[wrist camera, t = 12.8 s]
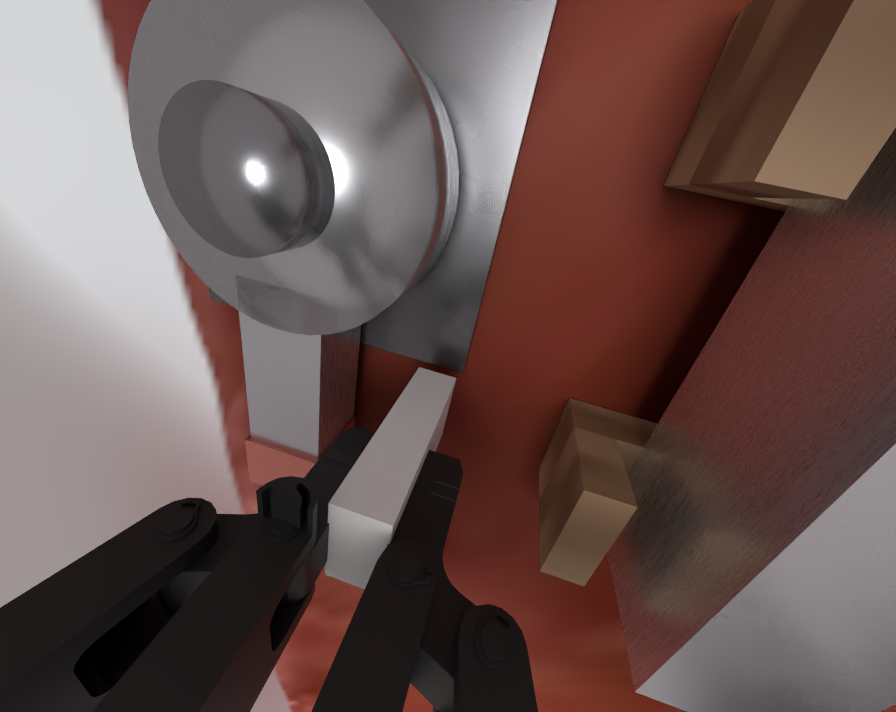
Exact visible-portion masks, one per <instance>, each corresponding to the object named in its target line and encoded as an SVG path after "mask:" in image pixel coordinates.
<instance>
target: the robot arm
mask: <svg viewBox="0 0 896 712" xmlns="http://www.w3.org/2000/svg"><path fill="white" fill-rule="evenodd" d="M455 382H456V378H454V377H451V376H448V375H444V374H441V373H438V372H434V371H431V370H428V369H424V368H421V367H419V368H418V370H417V371H416V373H415V374H414V376H413V377H412V379H411V380H410V382H409V383H408V385H407V386H406V388H405V389H404V391H403V392H402V394H401V395H400V397H399V398H398V400H397V401H396V403H395V404H394V406H393V407H392V409H391V410H390V412H389V413H388V415H387V416H386V418H385V419H384V421H383V422H382V424H381V425H380V427H379V428H378V430H377V431H376V433H373V432H370V431H367V430H364V429H361V428H358V427H354V426H353V427H351V428H349V429H348V430H346V431H344V432H342V433H341V434H339V435H338V437H337V438H336V439H335V440H334V441H333V443H332V444H331V445H330V447H329V449H327V450H326V451H325V453H324V454H323V455H322V457H321V459H319V460H318V461H317V462H316V464H315V465H314V466H313V467H312V469H311V470H310V471H309V472H308V473H307V475H306V476H305V477H304V478H300V477H294V476H288V477H280V478H277V479H275V480H272V481H270V482H267V483H266V484H264V485H263V486H262V487H261V488H259V489H258V490H257V491H256V493H257V504H258V513H257V514H247V515H242V514H217V513H216V509H215V508H214V506H213V505H212V503H211V502H209V501H206V500H204V499H202V498H186V499H182V500H178V501H174V502H172V503H170V504H168V505H165V506H163V507H161V508H159V509H158V510H156V511H155V512H153V513H151V514H150V515H148V516H147V517H145V518H143V519H142V520H140V521H139V522H137V523H135V524H134V525H132V526H131V527H129V528H127V529H126V530H124V531H123V532H121V533H119V534H118V535H116V536H115V537H113V538H111V539H110V540H108V541H106V542H105V543H103V544H102V545H100V546H98V547H97V548H95V549H94V550H92V551H90V552H89V553H87V554H86V555H84V556H83V557H81V558H79V559H78V560H76V561H75V562H73V563H71V564H70V565H68V566H67V567H65V568H63V569H62V570H60V571H58V572H57V573H55V574H54V575H52V576H51V577H49V578H47V579H46V580H44V581H42V582H41V583H39V584H38V585H36V586H34V587H33V588H31V589H30V590H28V591H26V592H25V593H23V594H22V595H20V596H19V597H17V598H15V599H14V600H12V601H10V602H9V603H8V604H6V605H4V606H2V607H1V608H0V712H250V710H251V709H252V707H253V705H254V703H255V701H256V699H257V698H258V696H259V694H260V692H261V690H262V688H263V687H264V685H265V683H266V681H267V679H268V678H269V676H270V674H271V672H272V670H273V669H274V667H275V665H276V663H277V661H278V659H279V658H280V656H281V654H282V652H283V650H284V648H285V647H286V645H287V643H288V641H289V639H290V638H291V636H292V634H293V632H294V630H295V628H296V627H297V625H298V623H299V621H300V619H301V617H302V616H303V614H304V612H305V610H306V608H307V607H308V605H309V603H310V601H311V599H312V596H313V593H314V590H315V581H316V579H317V578H318V576H319V574H320V572H321V571H322V569H323V567H324V565H325V575H328V576H330V577H333V578H336V579H338V580H341V581H343V582H346V583H349V584H351V585H354V586H356V587H359V588H362V589H364V592H363V594H362V597H361V599H360V601H359V604H358V606H357V608H356V610H355V613H354V615H353V617H352V620H351V622H350V624H349V627H348V629H347V631H346V633H345V636H344V638H343V640H342V643H341V645H340V647H339V650H338V652H337V654H336V657H335V659H334V661H333V663H332V666H331V668H330V670H329V673H328V675H327V677H326V680H325V682H324V684H323V686H322V689H321V691H320V693H319V696H318V698H317V700H316V703H315V705H314V707H313V709H312V712H402V711H403V707H404V703H405V699H406V695H407V692H408V688H409V684H410V683H411V684H412V685H413V686H414V687H415V688H416V689H417V690H418V691H419V692H420V693H421V694H422V695H423V696H424V697H425V698H426V699H427V700H428V701H429V702H430V703H431V704H432V705H433V712H538V709H537V704H536V698H535V692H534V686H533V680H532V674H531V668H530V662H529V656H528V651H527V646H526V642H525V639H524V636H523V633H522V630H521V629H520V627H519V626H518V624H517V623H516V621H515V620H514V618H513V617H512V616H510V615H509V614H508V613H507V612H505V611H504V610H503V609H502V608H499V607H496V606H493V605H490V604H488V605H480V606H475V605H474V604H473V603H472V602H470V601H469V600H468V599H467V598H466V597H464V596H463V595H462V594H461V593H460V592H459V591H458V590H457V589H456V588H455V587H454V586H453V585H452V584H451V582H450V581H449V579H448V577H447V575H446V573H445V570H444V567H443V550H444V546H445V542H446V538H447V534H448V530H449V526H450V523H451V519H452V515H453V511H454V507H455V503H456V499H457V495H458V492H459V488H460V484H461V480H462V476H463V472H462V467H461V463H460V460H459V459H456V458H453V457H450V456H447V455H444V454H441V453H438V452H436V449H437V447H438V444H439V441H440V439H441V436H442V434H443V430H444V426H445V422H446V418H447V414H448V410H449V406H450V402H451V398H452V394H453V390H454V386H455Z"/></svg>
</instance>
